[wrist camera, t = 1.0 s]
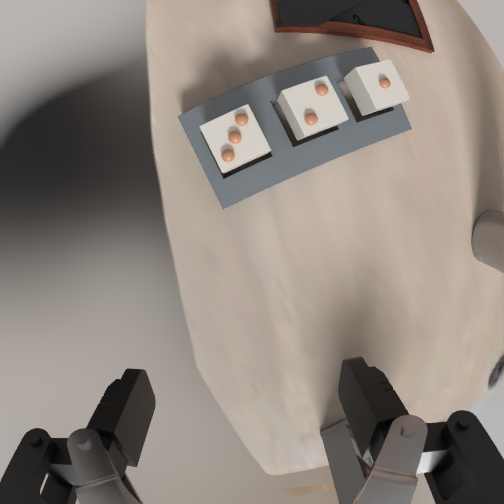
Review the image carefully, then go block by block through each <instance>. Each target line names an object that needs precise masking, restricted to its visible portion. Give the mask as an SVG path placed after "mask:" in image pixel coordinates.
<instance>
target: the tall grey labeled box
mask: <svg viewBox="0 0 504 504" xmlns="http://www.w3.org/2000/svg"><path fill="white" fill-rule="evenodd" d="M320 435H321V437H322V439H323V443H324V447H325V450H326V454H327V458H328V462H329V465H330V469H331V473H332V477H333V481H334V485H335V488H336V492H337V496H338V500H339V503H340V504H352V503H353V502H354V500H355V498H356V496H357V494H358V493H359V491H360V489H361V487H362V485H363V483H364V481H365V479H366V477H367V475H368V473H369V471H370V469H371V466H372V464H373V463H372V460H371V458H370V457H367V458H363V459H362V457H361V454H360V451H359V449H358V446H357V443H356V441H355V438H354V435H353V433H352V430H351V427H350V425H349V422H348V421H347V420H346V419H345V420H342V421H341V422H339V423H337V424H336V425H334V426H332V427H330V428H328V429H326V430H322V431H321V432H320Z"/></svg>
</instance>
